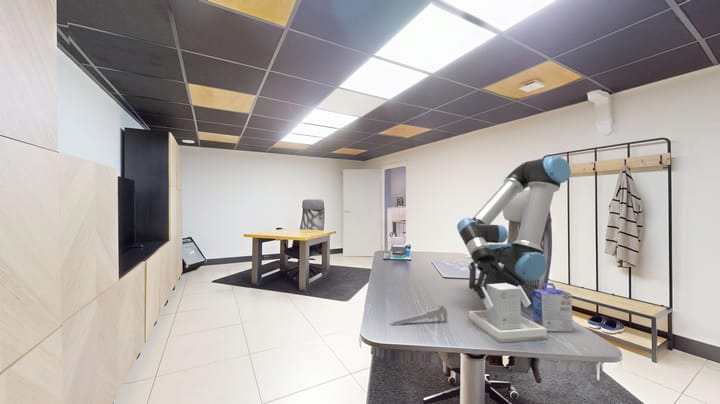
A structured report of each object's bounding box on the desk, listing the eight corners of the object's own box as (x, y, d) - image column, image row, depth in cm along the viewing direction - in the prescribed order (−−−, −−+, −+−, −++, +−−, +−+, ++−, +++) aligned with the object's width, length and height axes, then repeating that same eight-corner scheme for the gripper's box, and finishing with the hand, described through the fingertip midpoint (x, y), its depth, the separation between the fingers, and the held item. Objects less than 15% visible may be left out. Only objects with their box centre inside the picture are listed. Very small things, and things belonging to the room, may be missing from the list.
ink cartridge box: (560, 324, 88) (560, 282, 89) (574, 332, 83) (573, 287, 83) (531, 324, 89) (531, 281, 89) (542, 331, 83) (542, 286, 83)
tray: (508, 317, 94) (508, 308, 94) (546, 338, 78) (546, 328, 79) (468, 319, 92) (468, 311, 92) (499, 342, 76) (499, 332, 76)
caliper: (445, 321, 91) (445, 303, 91) (447, 322, 90) (447, 304, 90) (389, 325, 88) (389, 306, 88) (390, 326, 87) (390, 307, 87)
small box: (506, 320, 89) (506, 282, 90) (521, 328, 83) (521, 288, 83) (486, 322, 88) (485, 283, 88) (500, 331, 81) (499, 289, 82)
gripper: (504, 257, 103) (536, 309, 88) (446, 258, 99) (469, 313, 84) (514, 245, 98) (550, 299, 83) (453, 247, 94) (479, 303, 79)
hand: (509, 306), depth 83 cm, fingers open, 13 cm apart
